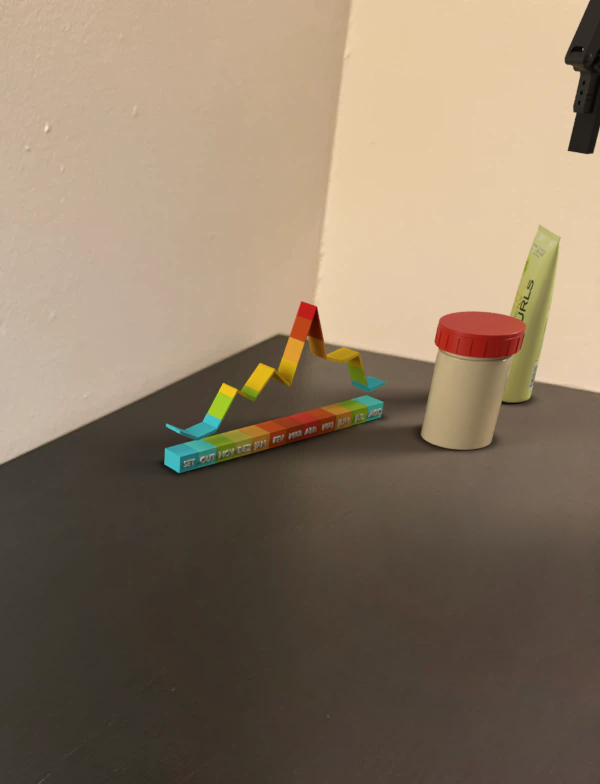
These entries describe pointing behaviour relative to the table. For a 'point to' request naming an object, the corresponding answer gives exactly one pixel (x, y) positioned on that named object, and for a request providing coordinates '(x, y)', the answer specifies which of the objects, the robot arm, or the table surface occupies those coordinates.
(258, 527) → the table surface
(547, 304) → the tube
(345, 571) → the table surface
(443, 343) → the lid
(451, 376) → the jar
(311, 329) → the chart
